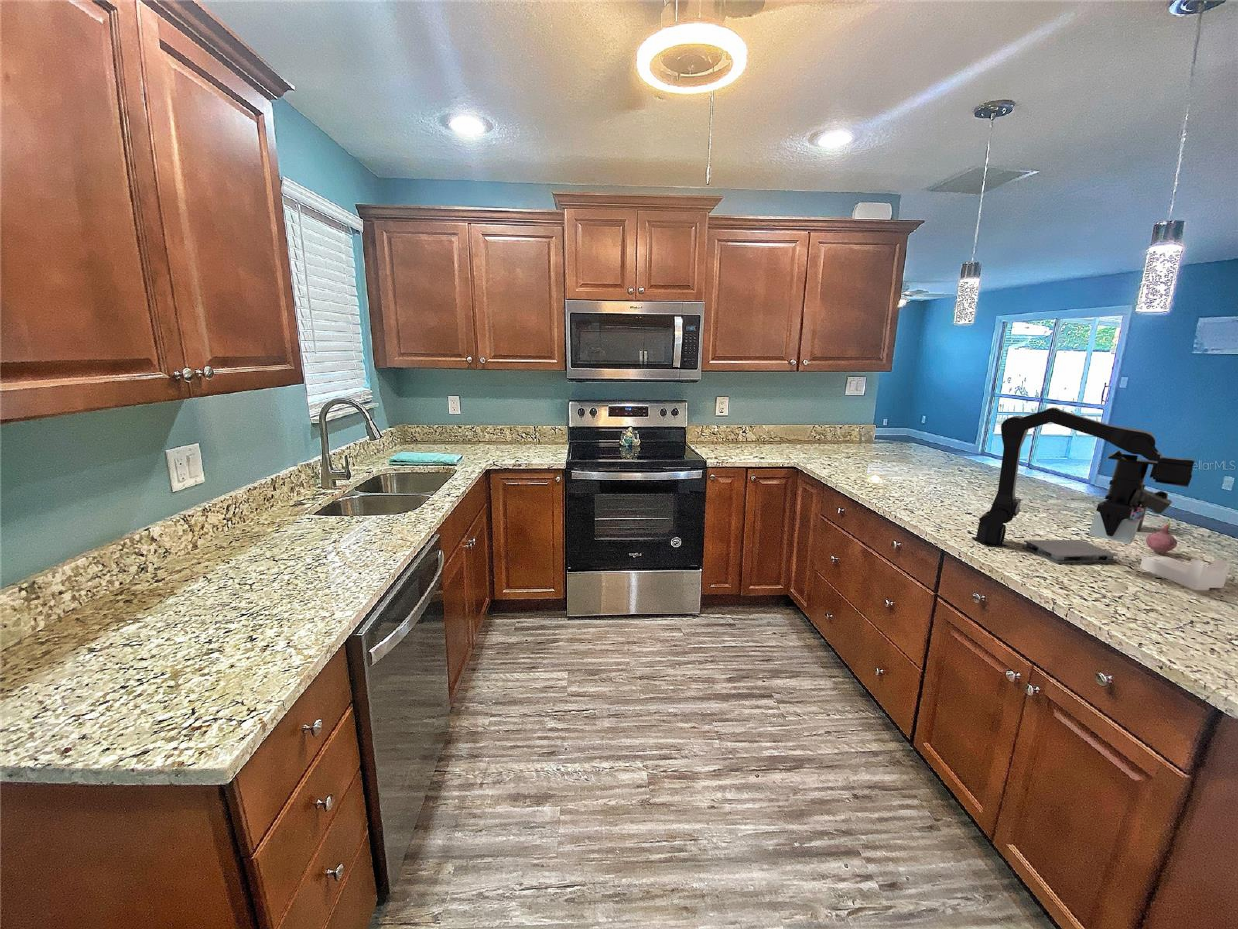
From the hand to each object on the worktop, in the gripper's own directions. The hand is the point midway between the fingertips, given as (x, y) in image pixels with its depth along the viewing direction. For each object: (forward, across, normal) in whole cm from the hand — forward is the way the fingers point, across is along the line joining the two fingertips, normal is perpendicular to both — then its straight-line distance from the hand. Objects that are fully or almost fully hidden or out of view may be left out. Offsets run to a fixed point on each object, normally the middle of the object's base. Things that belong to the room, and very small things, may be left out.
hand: (1111, 533), depth 129 cm
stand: (+11, +6, +8) cm, 15 cm away
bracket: (+11, +11, -13) cm, 20 cm away
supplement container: (+11, +54, +2) cm, 55 cm away
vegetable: (+11, +30, -8) cm, 33 cm away
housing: (+1, 0, 0) cm, 1 cm away
